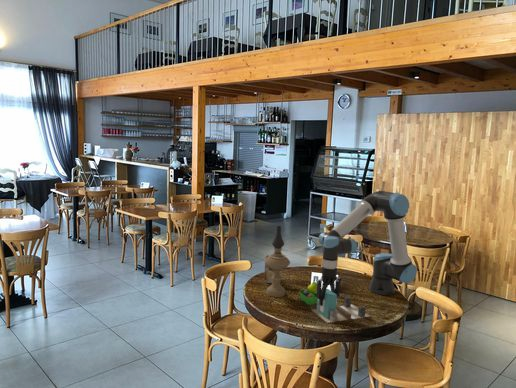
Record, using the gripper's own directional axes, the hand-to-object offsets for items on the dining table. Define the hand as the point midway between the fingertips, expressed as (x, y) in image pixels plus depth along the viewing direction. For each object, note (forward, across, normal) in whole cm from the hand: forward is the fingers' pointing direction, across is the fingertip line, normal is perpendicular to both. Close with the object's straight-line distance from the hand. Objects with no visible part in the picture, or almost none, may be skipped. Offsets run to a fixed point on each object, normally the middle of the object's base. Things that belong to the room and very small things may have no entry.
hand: (326, 310), depth 210 cm
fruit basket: (+3, 0, -19) cm, 19 cm away
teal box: (+2, 0, 0) cm, 2 cm away
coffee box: (+3, +7, -55) cm, 55 cm away
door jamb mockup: (+3, -8, 0) cm, 9 cm away
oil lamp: (+3, +13, -36) cm, 38 cm away
